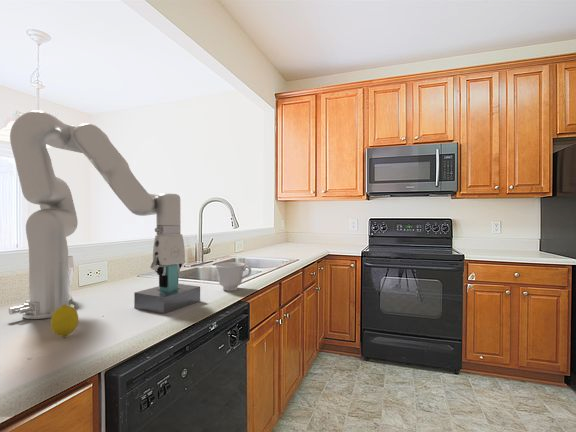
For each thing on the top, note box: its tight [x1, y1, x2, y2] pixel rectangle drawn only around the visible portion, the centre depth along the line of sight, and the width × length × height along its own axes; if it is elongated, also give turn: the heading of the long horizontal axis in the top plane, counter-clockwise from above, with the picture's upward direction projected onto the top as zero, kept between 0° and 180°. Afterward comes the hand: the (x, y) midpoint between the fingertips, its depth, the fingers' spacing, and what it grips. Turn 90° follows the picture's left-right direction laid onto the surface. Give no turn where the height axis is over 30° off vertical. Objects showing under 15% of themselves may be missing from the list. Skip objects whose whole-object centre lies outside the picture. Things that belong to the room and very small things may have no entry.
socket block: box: [133, 283, 201, 315], centre depth 107 cm, size 16×13×5 cm
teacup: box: [214, 261, 252, 292], centre depth 128 cm, size 12×15×10 cm
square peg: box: [160, 264, 179, 292], centre depth 107 cm, size 4×4×10 cm
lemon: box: [50, 305, 79, 338], centre depth 78 cm, size 6×6×8 cm
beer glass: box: [68, 255, 74, 302], centre depth 111 cm, size 7×7×15 cm
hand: (168, 284), depth 107 cm, fingers closed on square peg, 4 cm apart
